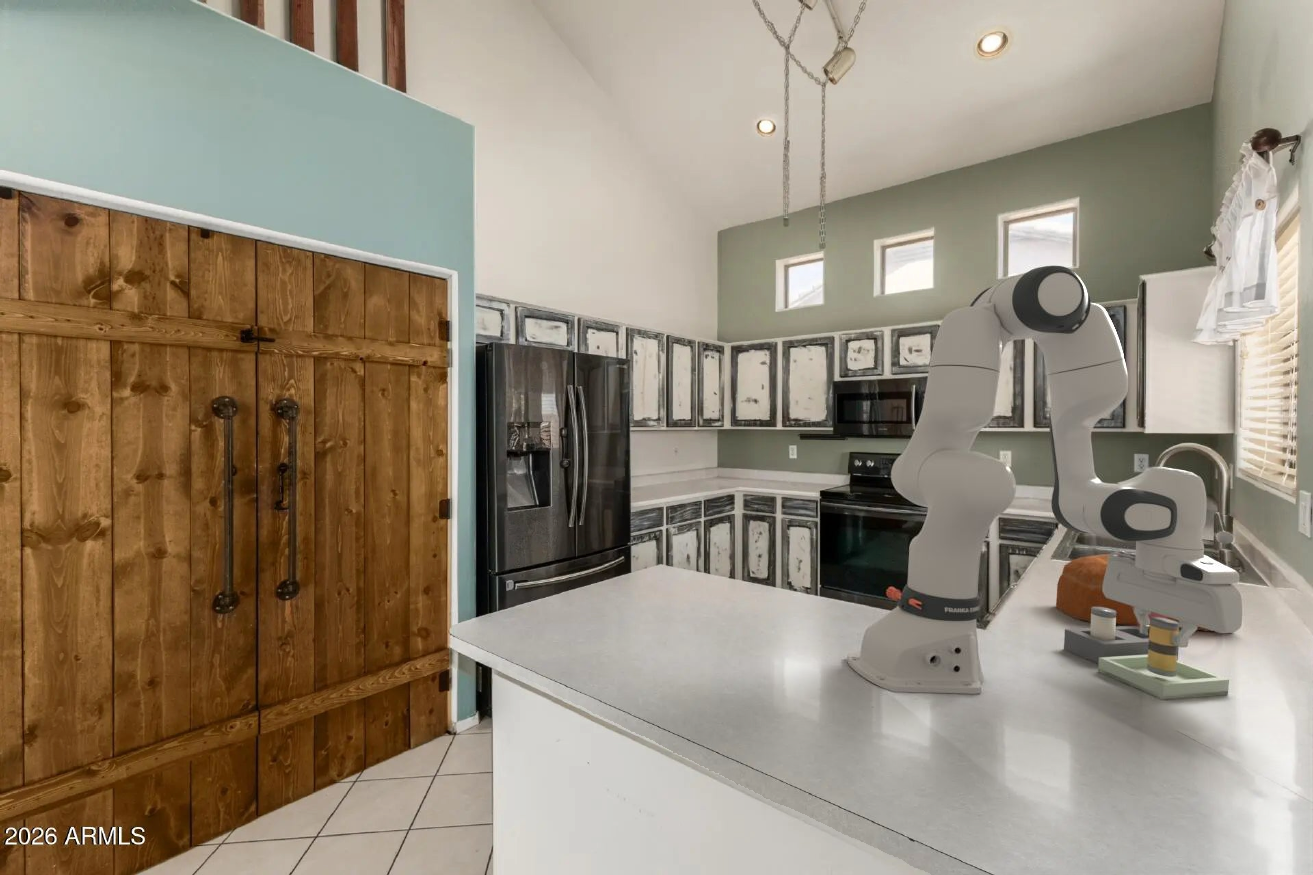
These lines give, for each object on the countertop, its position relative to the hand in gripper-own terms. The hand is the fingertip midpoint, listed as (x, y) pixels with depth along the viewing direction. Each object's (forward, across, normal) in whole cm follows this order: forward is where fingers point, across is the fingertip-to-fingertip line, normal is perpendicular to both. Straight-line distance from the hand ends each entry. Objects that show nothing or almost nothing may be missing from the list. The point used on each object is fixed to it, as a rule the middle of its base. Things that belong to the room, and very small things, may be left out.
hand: (1163, 640), depth 102 cm
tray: (+7, 0, 0) cm, 7 cm away
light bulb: (+8, -17, +20) cm, 27 cm away
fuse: (+7, -12, +1) cm, 14 cm away
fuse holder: (+7, -12, +6) cm, 15 cm away
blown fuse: (+6, 0, 0) cm, 6 cm away
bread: (+8, -29, +34) cm, 45 cm away
